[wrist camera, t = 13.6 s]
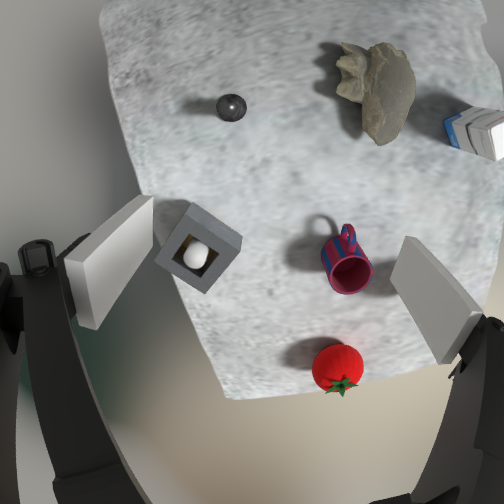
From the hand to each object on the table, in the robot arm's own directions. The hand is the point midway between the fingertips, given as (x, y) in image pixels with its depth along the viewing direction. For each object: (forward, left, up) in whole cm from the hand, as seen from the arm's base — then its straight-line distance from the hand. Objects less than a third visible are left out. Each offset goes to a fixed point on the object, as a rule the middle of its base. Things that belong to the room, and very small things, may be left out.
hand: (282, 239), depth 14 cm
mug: (+12, +14, -29) cm, 34 cm away
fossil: (-12, +12, -29) cm, 34 cm away
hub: (+14, -8, -29) cm, 33 cm away
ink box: (-13, +31, -29) cm, 44 cm away
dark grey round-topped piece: (-6, -6, -29) cm, 30 cm away
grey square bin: (+14, -8, -27) cm, 32 cm away
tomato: (+36, +20, -29) cm, 50 cm away
